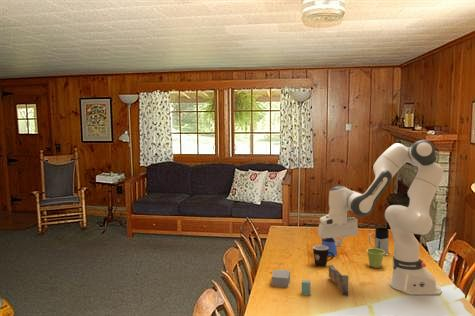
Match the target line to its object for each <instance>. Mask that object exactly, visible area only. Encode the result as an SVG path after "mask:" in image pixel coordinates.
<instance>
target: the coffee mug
mask: <svg viewBox="0 0 475 316" xmlns="http://www.w3.org/2000/svg"><path fill="white" fill-rule="evenodd" d="M328 249H329V248H328V247H327V246H323V245H322V244H318V245H314V246H312V250H313V251H312V252H313V259H314V260H313V262H314V266H316V267H320V268H323V267H327V263H328V262H330V261H331V260H333V259H334V257H335V256H333V253H331V252H328ZM328 253H331V254H332V257H330V258H329V259H328V257H327V256H328Z"/></svg>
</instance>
